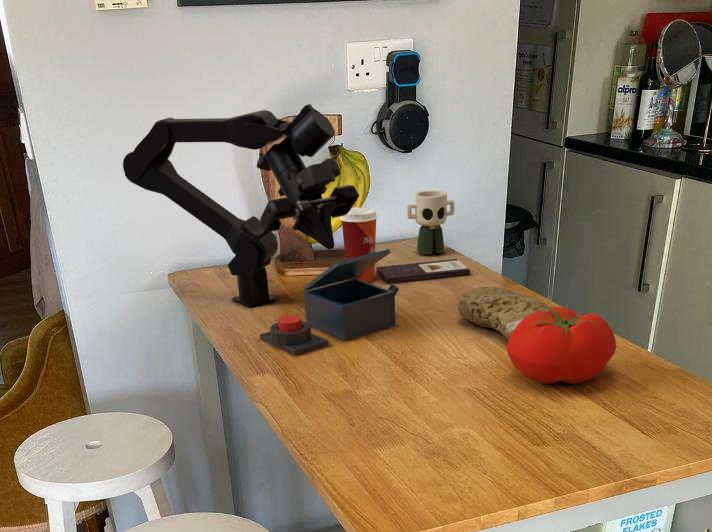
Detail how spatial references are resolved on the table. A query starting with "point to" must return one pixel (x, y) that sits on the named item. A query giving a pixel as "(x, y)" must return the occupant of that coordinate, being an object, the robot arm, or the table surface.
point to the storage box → (350, 309)
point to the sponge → (498, 308)
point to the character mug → (430, 219)
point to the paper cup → (360, 236)
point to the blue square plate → (346, 269)
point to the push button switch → (294, 339)
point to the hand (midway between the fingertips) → (331, 247)
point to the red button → (289, 323)
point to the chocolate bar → (422, 270)
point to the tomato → (561, 346)
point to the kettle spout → (393, 288)
